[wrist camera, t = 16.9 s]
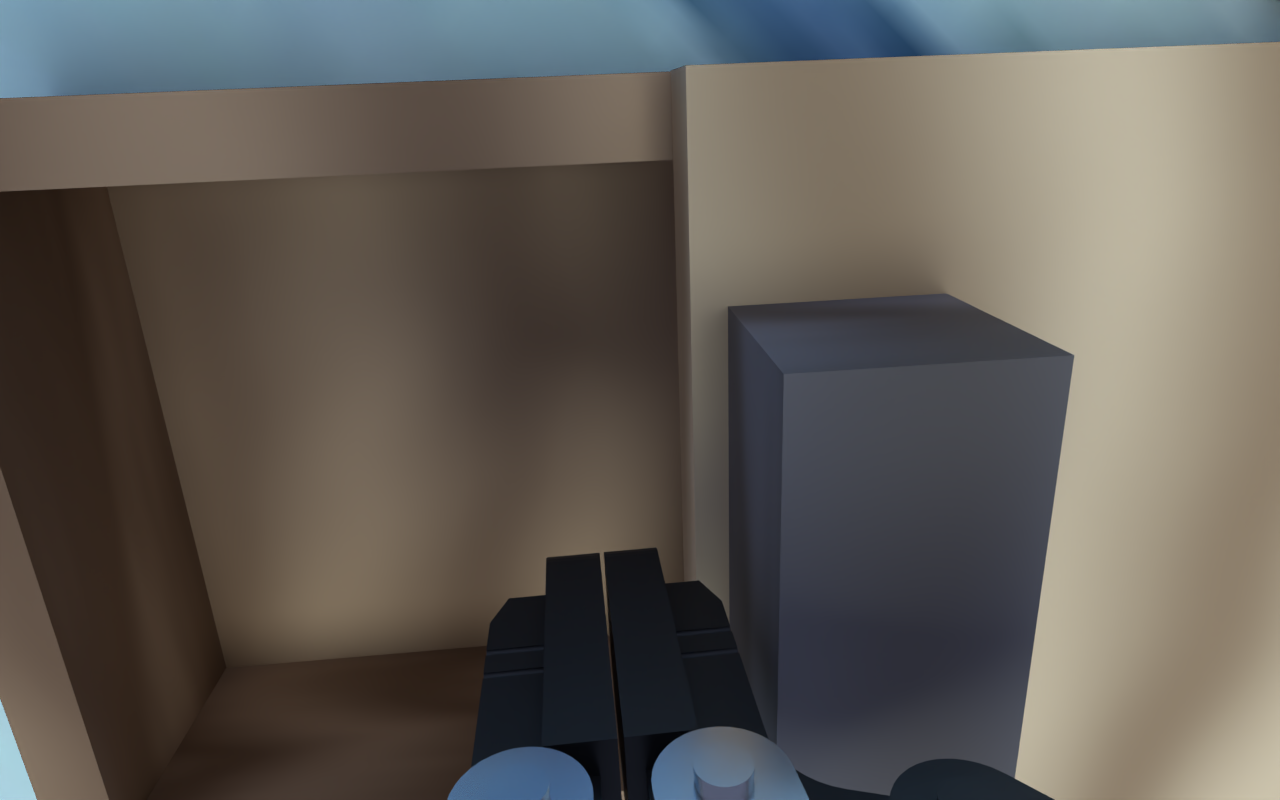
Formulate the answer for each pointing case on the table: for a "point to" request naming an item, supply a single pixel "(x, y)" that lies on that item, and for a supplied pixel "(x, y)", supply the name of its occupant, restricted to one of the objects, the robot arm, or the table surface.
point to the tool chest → (317, 416)
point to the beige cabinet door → (991, 409)
